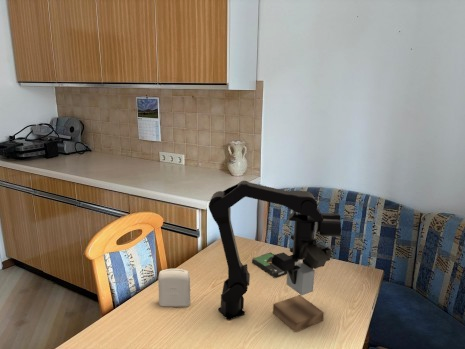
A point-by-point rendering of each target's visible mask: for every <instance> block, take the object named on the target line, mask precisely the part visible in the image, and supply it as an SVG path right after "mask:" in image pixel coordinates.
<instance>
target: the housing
mask: <svg viewBox="0 0 465 349" xmlns="http://www.w3.org/2000/svg"><path fill="white" fill-rule="evenodd" d="M298 266H299V267H301V268H300V269H298V270H297V278H296V284H293V283H292V281H291V279H290V276H289V274H288V271H287V274H286V286H288V287H290V289H292V290H294V291H295V292H296V293H298V295H301V296H304V295H307V294H309V293H312V292H313V291H314V284H315V272H316V271H315V269H314V268H313V269H312V268H310V267H308V266H307V265H305V264H303V261H301V260H300V261H298Z"/></svg>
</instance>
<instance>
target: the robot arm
mask: <svg viewBox="0 0 465 349" xmlns="http://www.w3.org/2000/svg"><path fill="white" fill-rule="evenodd" d="M244 198H250V199H254V200H258V201H263V202H267V203H270V204H271V203H272V204H276V205H280V206H283V207H285V208H287V209H290V210H291V211H292V212H291V213H289V214H288V220H289V221H290V222H294V227H293V234H291V235H290V239H291V240H292V241H293V242H292V247H289V252H290V253H292V254H290V255H289V254H287V253H285V252H284V251H283V252H280V253H274V256H272V264H274V265H275V266H277V267H278V268H280V269H281V270H282V271H288V274H289V276H290V279H291V281H292V283H293V284H296V278H297V270H298V269H300V268H301V267H299V266H298V261H300V262H301V261H302V263H303V264H305V265H307V266H308V267H310V268H312V269H313V270H315V269H316V270H317V269H319V268H321V267H322V268H323V267H324V266H326V264H327V263H326V262H328V261H331V256H332V249H331V248H330V247H329V246H325V245H323V244H321V243H319V242H318V241H317V239H316V238H314V235H315V234H314V231H315V232H316V233H318V236H321V237H334V238H335V237H341V235H342V231H343V230H342V229H343V228H342V222H341V215H340V213H338V212H337V213H336V212H334V213H332V212H331V213H328V212H327V213H326V212H321V210H320V208H318V202H317V200H316V198H315V197H314V195H313V193H312V192H310V191H308V190H307V191H306V190H283V189H279V188H275V187H271V186H266V185H263V184H258V183H253V182H249V181H247V180H241V181H239V182H238V183H237V184H235V185H232V186H230V187H228V188H226V189H224V190H218V191H215V193H213V195H212V196H211V198H210V200H209V202H208V209H209V212H210V214H211V217H212V219H213V221H214V222H215V223H216V225H217V226H218V231H219V235H220V238H221V243H222V247H223V251H224V256H225V260H226V263H227V264H226V265H227V270H228V272H227V275H228V276H227V279H225V280H224V281H223V286H222V291H221V294H220V307H218V308H217V309H218V311H219V313H221V314H222V316H223V317H224V318H225V319H226V321H230V320H232V319H236V318H239V317H243V316H245V315H246V311H245V310H244V306H245V305H244V301H245V297H244V295H245V294H246V293H247V292H248V289H249V288H248V287H249V286H250V282H251V281H250V280H251V279H250V278H251V274H250V273H249V270H248V264H247V263H245V264H243V262H242V261H241V258H240V255H239V249H238V246H237V242H236V237H235V236H236V235H235V233H234V228H233V223H232V218H231V214H232V213H231V212H232V211H231V210H232V209H231V207H233V206H234V205H236V204H237V203H239V202H240V201H241V200H243V199H244ZM317 242H318V243H317Z"/></svg>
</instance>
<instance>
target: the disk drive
mask: <svg viewBox="0 0 465 349" xmlns="http://www.w3.org/2000/svg"><path fill="white" fill-rule="evenodd" d="M274 255H275V253H272V252H267V253H265V254H261V255H259V256H256V257H252V259H251V264H253V265H255V266H256V267H258V268H259V269H260V270H262V271H264V272H265V273H267V274H268V275H269V276H271V277H273V278H274V279H277V278H280V277H283V276H285V275H286V276H287V271H282V270H281V269H280V268H278V267H277V266H275V265H274V264H272V256H274Z"/></svg>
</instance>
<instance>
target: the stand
mask: <svg viewBox="0 0 465 349" xmlns="http://www.w3.org/2000/svg"><path fill="white" fill-rule="evenodd" d="M272 313H273V314H274V315H275V316H276V317H278V318H279V319H280V320H281V321H282V322H283V323H284V324H285V325H287V326H288V327H289V328H290V329H291V330H293V331H294V332H295V333H297V332H300V331H302V330H304V329H307V328H309V327H312V326H314V325H317V324H319V323H321V322H323V321H324V314H325V312H324V311H323V310H321V308H319V307H318V306H316V305H314V304H313V303H312V302H310V301H309V300H307V299H306V298H305V297H303V295H300V294H297V295H295V296H292V297H289V298H287V299H284V300H281V301H277V302H275V303H273V304H272Z"/></svg>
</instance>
